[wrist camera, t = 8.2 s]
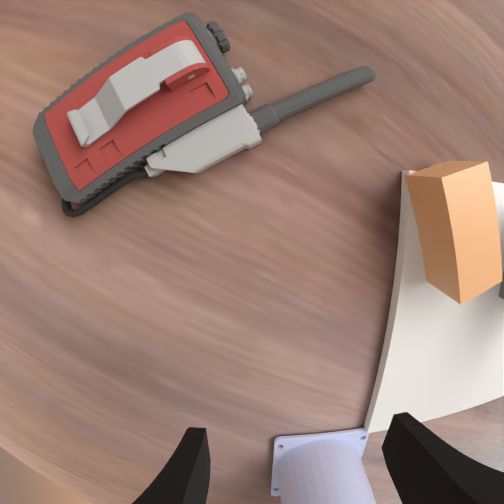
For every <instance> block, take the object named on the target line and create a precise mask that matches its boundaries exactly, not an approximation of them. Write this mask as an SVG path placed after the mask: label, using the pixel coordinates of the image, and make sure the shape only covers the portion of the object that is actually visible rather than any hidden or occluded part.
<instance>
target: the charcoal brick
mask: <svg viewBox="0 0 504 504" xmlns="http://www.w3.org/2000/svg"><path fill="white" fill-rule="evenodd" d="M499 297H500V298H502V299H504V271H503V276H502V281H501V286H500V291H499Z"/></svg>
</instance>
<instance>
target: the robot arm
mask: <svg viewBox="0 0 504 504" xmlns="http://www.w3.org/2000/svg"><path fill="white" fill-rule="evenodd" d="M362 436H363V437H362ZM368 436H369V433H367V432H366V430H365V428H358V429H351V430H344V431H336V432H327V433H318V434H307V435H293V436H279V437H276V438H275V440H274V451H273V466H272V480H271V495H272V496H280V499H281V504H376V501H375V498H374V495H373V492H372V489H371V486H370V484H369V481H368V478H367V475H366V472H365V469H364V467H363V464H362V461H361V457H362V454H363V451H364V448H365V445H366V442H367V439H368ZM382 451H383V454H384V458H385V462H386V465H387V468H388V471H389V473H390V476H391V478H392V480H393V483H394V485H395V487H396V489H397V492H398V494H399V496H400V499H401V501H402V503H403V504H504V472H501V471H498V470H495V469H493V468H490V467H488V466H485V465H483V464H481V463H479V462H477V461H475V460H473V459H471V458H469V457H467V456H466V455H464V454H462V453H461V452H459V451H458V450H456V449H455V448H453V447H452V446H450V445H449V444H447V443H446V442H445V441H443V440H442V439H441V438H439V437H438V436H437V435H435V434H434V433H433V432H431V431H430V430H429V429H428V428H426V427H425V426H424V425H423V424H422V423H420V422H419V421H418V420H417V419H415V418H414V417H413V416H412V415H410V414H409V413H408V412H403V413H398V414H394V415H393V418H392V421H391V423H390V426H389V429H388V432H387V435H386V437H385V440H384V443H383V445H382ZM210 462H211V460H210V453H209V447H208V440H207V433H206V428H193V427H189V428H188V429H187V430H186V432H185V434H184V436H183V438H182V440H181V442H180V443H179V445H178V447H177V448H176V450H175V452H174V453H173V455H172V456H171V458H170V459H169V461H168V462H167V464H166V465H165V467H164V468H163V469H162V471H161V472H160V473H159V474H158V476H157V477H156V478H155V479H154V481H153V482H152V483H151V484H150V486H149V487H148V488H147V489H146V490H145V491H144V492H143V493H142V494H141V495H140V496H139V497H138V498H137V499H136V500H135V501H134V502H133V503H132V504H206V498H207V493H208V487H209V480H210Z"/></svg>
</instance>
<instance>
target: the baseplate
mask: <svg viewBox="0 0 504 504" xmlns="http://www.w3.org/2000/svg"><path fill="white" fill-rule="evenodd" d="M413 172H416V171H410V170H402V184H401V208H400V224H399V237H398V248H397V258H396V267H395V275H394V283H393V290H392V297H391V304H390V310H389V317H388V322H387V328H386V334H385V339H384V344H383V349H382V354H381V359H380V363H379V368H378V372H377V377H376V381H375V385H374V389H373V393H372V397H371V401H370V405H369V408H368V412H367V416H366V419H365V423H364V428H365V430H366V432H367V433H372V432H378V431H383V430H388V429H389V426H390V423H391V421H392V418H393V415H394V414H398V413H403V412H408V413H409V414H410V415H412V416H413V417H414V418H415V419H417V420H418V421H419V422H424V421H428V420H431V419H435V418H439V417H442V416H446V415H449V414H452V413H456V412H459V411H462V410H465V409H468V408H471V407H474V406H477V405H480V404H483V403H486V402H488V401H491V400H494V399H496V398H499V397H501V396H504V299H502V298H500V297H499V291H500V286H501V282H500V283H498V284H496V285H495V286H493V287H491V288H490V289H488V290H486V291H485V292H483V293H481V294H479V295H478V296H476V297H474V298H472V299H470V300H469V301H467V302H465V303H463V304H461V305H460V304H459V303H457V302H456V301H454V300H453V299H452V298H450V297H449V296H447V295H446V294H444V293H443V292H442V291H440V290H439V289H437V288H436V287H434V286H433V285H431V284H430V283H428V282H427V278H426V272H425V266H424V260H423V254H422V249H421V244H420V238H419V234H418V229H417V224H416V220H415V215H414V211H413V207H412V202H411V198H410V194H409V191H408V187H407V183H406V179H405V176H404V175H407V174H410V173H413ZM492 185H493V191H494V197H495V203H496V210H497V217H498V226H499V235H500V246H501V260H502V276H503V271H504V184H503V183H497V182H492Z"/></svg>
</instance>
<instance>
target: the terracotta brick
mask: <svg viewBox="0 0 504 504" xmlns="http://www.w3.org/2000/svg"><path fill="white" fill-rule="evenodd" d="M404 176H405V179H406V183H407V187H408V191H409V194H410V198H411V202H412V207H413V211H414V215H415V220H416V224H417V229H418V234H419V238H420V244H421V249H422V254H423V260H424V266H425V272H426V278H427V282H428V283H430V284H431V285H433V286H434V287H436V288H437V289H439V290H440V291H442V292H443V293H444V294H446V295H447V296H449V297H450V298H452V299H453V300H454V301H456V302H457V303H459V304H460V305H461V304H463V303H465V302H467V301H469V300H470V299H472V298H474V297H476V296H478V295H479V294H481V293H483V292H485V291H486V290H488V289H490V288H491V287H493V286H495V285H496V284H498V283H500V282H501V281H502V260H501V246H500V235H499V226H498V217H497V210H496V203H495V197H494V191H493V185H492V180H491V175H490V170H489V165H488V162H486V161H446V162H443V163H440V164H437V165H434V166H431V167H428V168H425V169H422V170H419V171H416V172H413V173H410V174H407V175H404Z"/></svg>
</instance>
